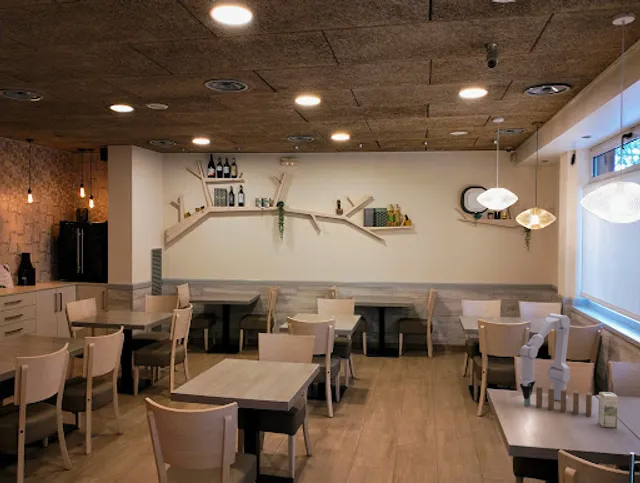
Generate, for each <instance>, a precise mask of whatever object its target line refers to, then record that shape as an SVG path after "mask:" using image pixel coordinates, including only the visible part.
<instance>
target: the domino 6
mask: <svg viewBox="0 0 640 483" xmlns="http://www.w3.org/2000/svg"><path fill="white" fill-rule="evenodd" d="M592 396H593V392H586V394H585V417H588V418H591V416H592V401H593V400H592Z"/></svg>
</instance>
